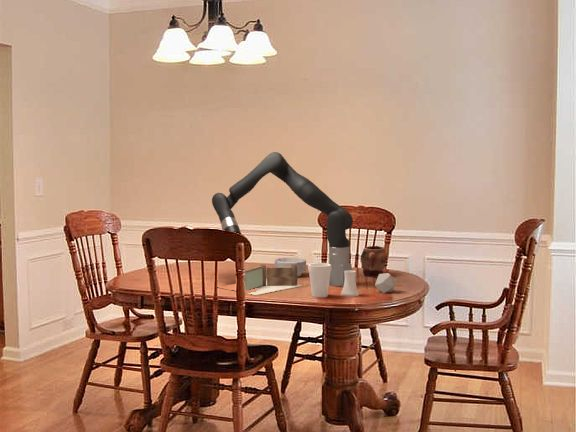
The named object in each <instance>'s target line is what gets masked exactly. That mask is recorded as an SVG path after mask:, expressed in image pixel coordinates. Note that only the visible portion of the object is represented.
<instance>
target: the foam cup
mask: <svg viewBox="0 0 576 432" xmlns="http://www.w3.org/2000/svg"><path fill="white" fill-rule="evenodd" d="M307 270H308V275H309V281H310V282H309V283H310V284H309V285H310V289H311V290H310V291H311V295H312V297H313V298H327V297H328V293H329V286H330V285H329V280H330V272H331V264H329V262H328V263H325V262H315V263H314V262H312V263H309V264H307Z"/></svg>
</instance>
